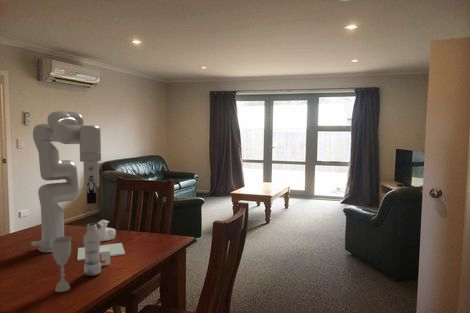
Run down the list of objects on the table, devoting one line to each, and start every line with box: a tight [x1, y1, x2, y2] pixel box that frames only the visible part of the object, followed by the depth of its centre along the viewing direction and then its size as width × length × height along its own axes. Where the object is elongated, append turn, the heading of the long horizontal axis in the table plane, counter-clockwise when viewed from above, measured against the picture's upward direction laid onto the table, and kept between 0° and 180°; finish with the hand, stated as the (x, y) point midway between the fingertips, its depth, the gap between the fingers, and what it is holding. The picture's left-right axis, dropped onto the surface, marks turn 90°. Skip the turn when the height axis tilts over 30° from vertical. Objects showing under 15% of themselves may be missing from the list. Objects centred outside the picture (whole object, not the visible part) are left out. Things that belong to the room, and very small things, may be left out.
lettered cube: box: [99, 247, 111, 267], centre depth 143 cm, size 6×6×6 cm
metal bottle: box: [82, 223, 102, 277], centre depth 131 cm, size 6×7×20 cm
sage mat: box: [76, 242, 126, 262], centre depth 157 cm, size 20×16×1 cm
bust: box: [96, 219, 117, 243], centre depth 175 cm, size 12×8×11 cm
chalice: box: [51, 235, 73, 293], centre depth 119 cm, size 7×7×18 cm
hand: (91, 201), depth 130 cm, fingers open, 9 cm apart
